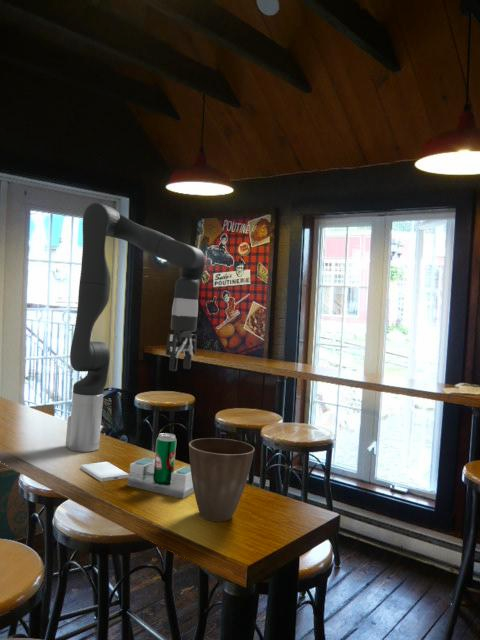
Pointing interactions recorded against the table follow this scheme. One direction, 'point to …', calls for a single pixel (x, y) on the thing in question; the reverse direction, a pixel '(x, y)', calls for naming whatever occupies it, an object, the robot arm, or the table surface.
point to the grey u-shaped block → (143, 479)
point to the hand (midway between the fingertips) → (179, 369)
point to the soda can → (164, 458)
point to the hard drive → (104, 471)
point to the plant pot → (219, 475)
